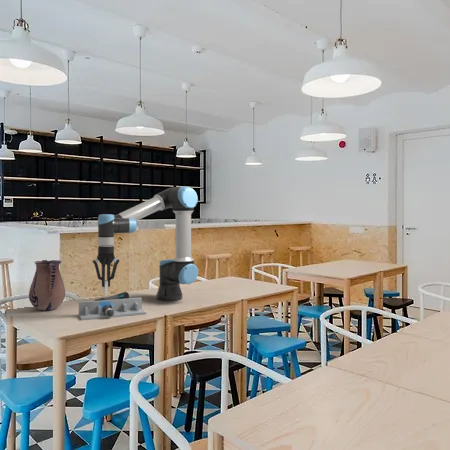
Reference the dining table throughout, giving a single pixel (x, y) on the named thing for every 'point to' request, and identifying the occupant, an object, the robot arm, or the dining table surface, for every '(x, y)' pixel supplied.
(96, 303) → the spiked grey rail
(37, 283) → the ceramic pitcher
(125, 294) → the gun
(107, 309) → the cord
